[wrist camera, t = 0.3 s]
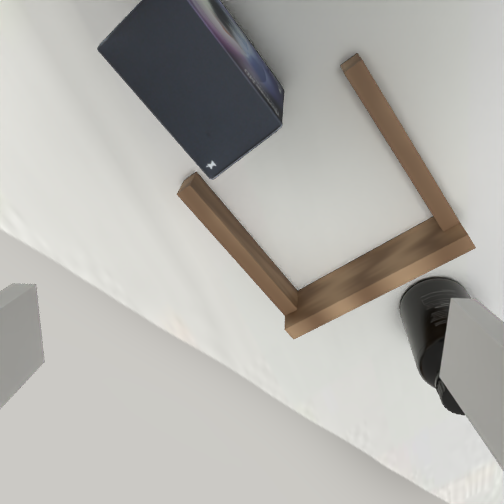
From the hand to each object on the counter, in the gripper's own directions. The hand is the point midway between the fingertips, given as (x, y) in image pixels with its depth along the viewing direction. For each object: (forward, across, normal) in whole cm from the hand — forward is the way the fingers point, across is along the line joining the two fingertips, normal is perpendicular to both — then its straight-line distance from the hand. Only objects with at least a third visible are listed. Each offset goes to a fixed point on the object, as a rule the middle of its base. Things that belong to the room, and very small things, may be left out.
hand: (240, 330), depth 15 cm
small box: (+26, -3, +11) cm, 28 cm away
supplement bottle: (+31, +18, -11) cm, 37 cm away
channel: (+28, +5, 0) cm, 29 cm away
